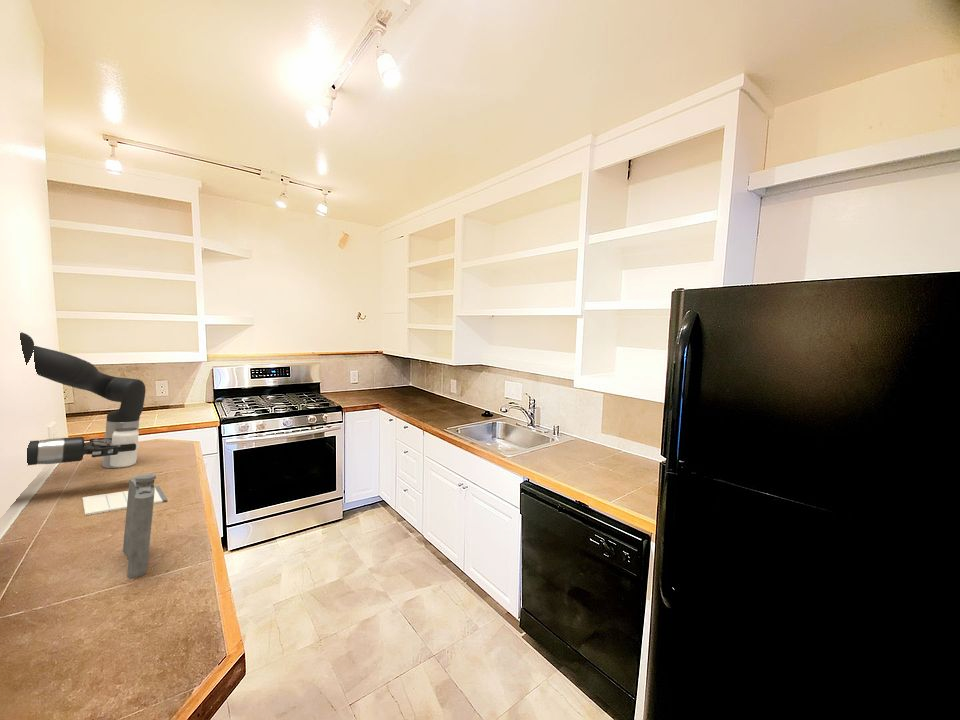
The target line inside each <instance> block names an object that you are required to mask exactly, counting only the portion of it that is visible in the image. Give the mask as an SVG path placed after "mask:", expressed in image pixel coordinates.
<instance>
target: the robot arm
mask: <svg viewBox="0 0 960 720" xmlns="http://www.w3.org/2000/svg"><path fill="white" fill-rule="evenodd" d="M20 332H21V333H20V340H21V345H22V351H23V354H24V358H25V362H26V365H27V363H28V362H29V360H30V358H31V356H32V353H33V352H34V362H35V369H36V372H37V374H38V375H37V374H36V375H37V376H40V377H42V378H44V379H47V380H50V381H53V382H55V383H59V384H62V385H65V386H67V387H72V388H75V389H80V390H84V391H88V392H91V393H93V394H95V395H97V396H100V397H101V398H103V399H106V400H108V401H110V402H114V403H115V402H116V403H120V406H119V409H116V410H113V411H110V412H108V413H107V414H106V423H105V433H104V434H105V435H104V437H102V438H91V439H89V441H87V442H85V437H83V436H73V437H61V438H60V437H57V438H55V437H54V438H47V439H41V440H29V441H30V443H29V445H28V448H27V463H28V465H27V466H36V465H53V464H63V463H64V464H65V463H73V462H74V463H75V462H82V461H83V459H84V455H91V458H100V457H102V467H103V468H106V469H121V468H123V467H112V466H111V465H110V455H117V454H118V453H120V452H124V451H134V450H136V444H124V445H113V444H112V435H113V433H114V431H115V429H116V428H122V427H135V428H137V431H138V432H139V428H140V417H141V414H142V413H143V410H144V405H145V404H144V403H145V397H146V385H145V383H144V382H143V381H142V380H140V379H137V378H127V377H121V376H120V377H119V376H118V377H117V376H113V375H108V374H105V373H103V372H100V371H99V370H98V368H97V367H96V366H95V365H94V364H93V363H91V362H89V361H87V360H85V359H82V358H80V357H78V356H75V355H72V354H70V353H69V354H68V353H65V352H62V351H58V350H54V349H50V348H47V347H46V348H45V347H42V346H38V345H35V342H34V340H33V338H32V337H31V336H30V335H29V334H27V333H24V332H23V331H20ZM34 345H35V346H34ZM33 350H34V351H33ZM112 449H113V451H112Z"/></svg>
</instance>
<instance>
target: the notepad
mask: <svg viewBox="0 0 960 720" xmlns="http://www.w3.org/2000/svg"><path fill="white" fill-rule="evenodd" d="M154 487H155V493H154V503H153V505H156V504H161V503H168V498H167V497H166V495H165V493H164V491H163V490H162V488H161V486H160V485H154ZM127 500H128V490H125V491H124V490H123V491H117V492H116V491H115V492H111V493H105V494H104V493H103V494H96V495H88V496H83V497H82V505H83V506H82V507H83V511H84V512H83V513H84V516H85V517H86V515H87V516H91V514H92V515H98V514H104V513H108V512H109V511H110V512H115V511H116V512H117V511H120V510H121V509H122V510H127ZM103 512H104V513H103ZM110 512H109V513H110ZM97 513H98V514H97Z"/></svg>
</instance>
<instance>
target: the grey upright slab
mask: <svg viewBox="0 0 960 720" xmlns="http://www.w3.org/2000/svg"><path fill="white" fill-rule="evenodd" d="M156 477H157V475H156V474H155V473H143V474H139V475H136V476H132V477H129V481H128V490H127V491H128V500H127V509H126V513H125V522H124V523H125V524H124V535H123V544H122V546H123V547H122V552H123V554H124V555H125V556H126V558H127V560H128V562H127V563H128V564H127V574H126V577H127V578H130V579H135V578H140V577H142V576H144V575H145V574H146V573H147V570H148V566H149V565H148V563H149V553H150V546H151V545H150V544H151V543H150V542H151V534H152V523H153V513H154V512H153V511H154V504H153V503H154V493H155V485H154V484H155V480H156Z"/></svg>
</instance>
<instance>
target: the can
mask: <svg viewBox="0 0 960 720" xmlns="http://www.w3.org/2000/svg"><path fill="white" fill-rule="evenodd" d="M139 433H140V432H139V430H138V431H137V428H135V427H122V428H116V429H115V431H114V433H113V435H112V444H113V445H124V444H136V450H134V451H124V452H120V453H118V454H117V455H110V465H111V466H112V467H122V468H126V467H132V466H134V465H135V464H136V463H137V457H138V444H139V436H140V435H139ZM112 451H113V449H112Z"/></svg>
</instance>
